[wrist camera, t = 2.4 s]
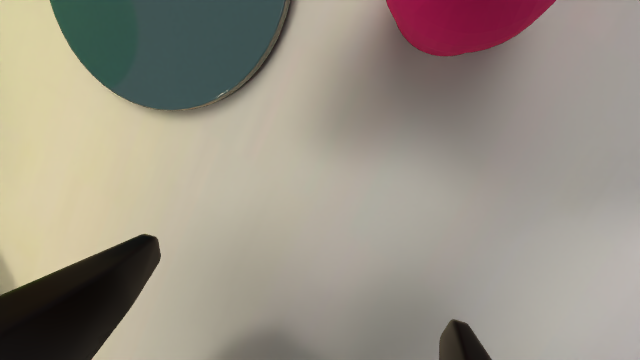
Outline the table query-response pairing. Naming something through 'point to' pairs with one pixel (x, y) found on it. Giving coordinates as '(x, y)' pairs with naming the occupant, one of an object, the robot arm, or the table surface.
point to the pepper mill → (463, 22)
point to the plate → (171, 46)
